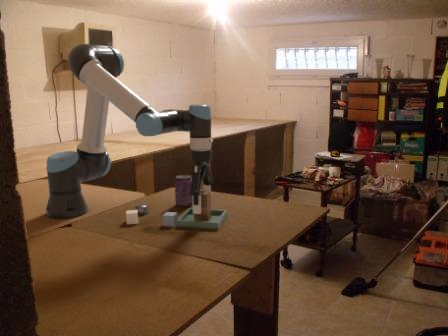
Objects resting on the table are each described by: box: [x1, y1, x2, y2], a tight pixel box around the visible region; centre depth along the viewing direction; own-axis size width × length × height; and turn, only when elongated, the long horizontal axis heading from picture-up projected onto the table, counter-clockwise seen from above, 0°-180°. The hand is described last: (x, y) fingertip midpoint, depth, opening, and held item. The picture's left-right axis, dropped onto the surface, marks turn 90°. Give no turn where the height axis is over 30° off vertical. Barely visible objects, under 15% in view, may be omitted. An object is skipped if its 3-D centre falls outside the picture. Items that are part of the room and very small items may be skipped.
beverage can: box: [174, 174, 193, 208], centre depth 176 cm, size 7×7×12 cm
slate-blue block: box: [162, 211, 179, 227], centre depth 153 cm, size 4×4×4 cm
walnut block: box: [194, 190, 212, 221], centre depth 155 cm, size 5×5×10 cm
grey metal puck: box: [134, 203, 150, 216], centre depth 167 cm, size 5×5×3 cm
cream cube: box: [125, 209, 139, 225], centre depth 157 cm, size 4×4×4 cm
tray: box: [175, 207, 228, 231], centre depth 156 cm, size 15×15×2 cm
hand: (202, 207), depth 155 cm, fingers open, 13 cm apart
